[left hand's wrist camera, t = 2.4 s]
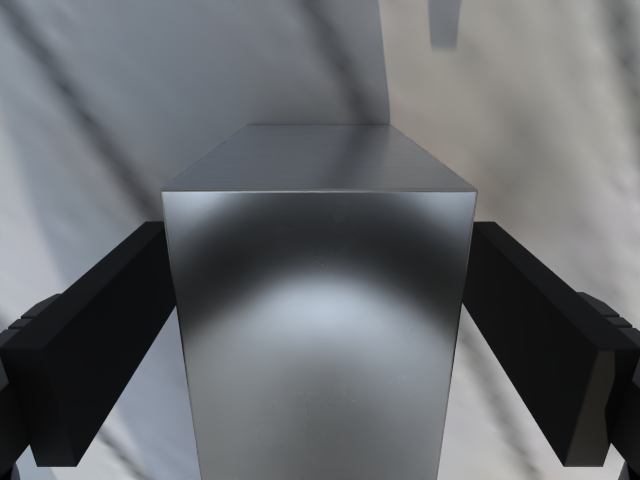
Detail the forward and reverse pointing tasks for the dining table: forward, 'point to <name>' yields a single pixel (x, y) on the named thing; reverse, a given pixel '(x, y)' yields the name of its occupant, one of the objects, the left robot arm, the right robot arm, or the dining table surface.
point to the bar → (318, 301)
